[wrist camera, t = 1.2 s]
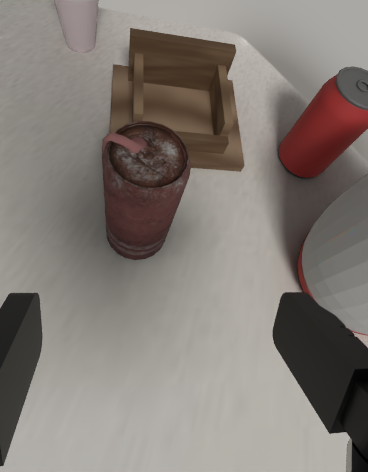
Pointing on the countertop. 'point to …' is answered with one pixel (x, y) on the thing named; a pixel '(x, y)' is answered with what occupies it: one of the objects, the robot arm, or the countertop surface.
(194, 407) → the countertop surface
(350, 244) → the citrus juicer
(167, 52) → the dock
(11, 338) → the robot arm
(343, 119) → the beer can
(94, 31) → the smoothie
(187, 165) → the can
